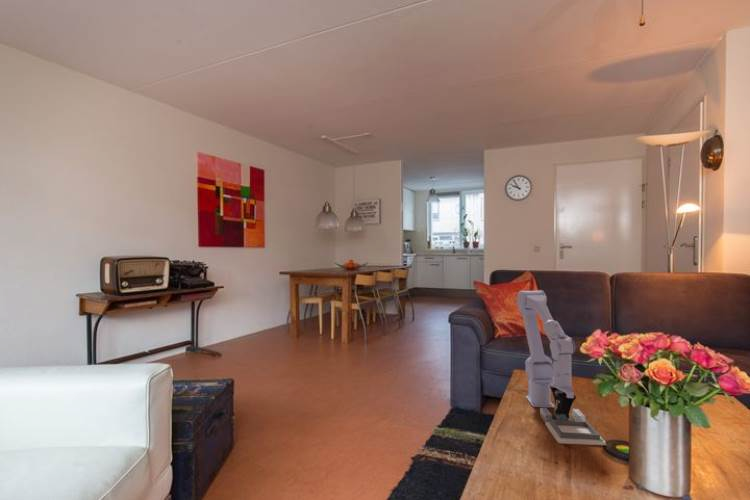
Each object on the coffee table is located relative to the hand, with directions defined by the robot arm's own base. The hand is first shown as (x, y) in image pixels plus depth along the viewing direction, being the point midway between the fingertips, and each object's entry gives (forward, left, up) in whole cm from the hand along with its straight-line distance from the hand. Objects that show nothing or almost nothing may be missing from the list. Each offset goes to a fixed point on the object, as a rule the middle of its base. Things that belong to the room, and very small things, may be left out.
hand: (562, 410), depth 135 cm
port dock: (+10, 0, -4) cm, 11 cm away
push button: (0, 0, -4) cm, 4 cm away
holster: (0, 0, -4) cm, 4 cm away
